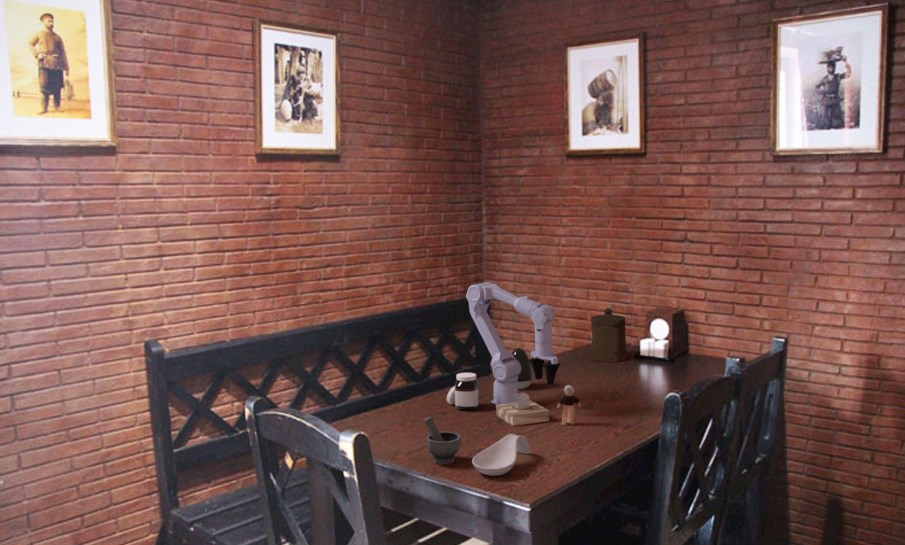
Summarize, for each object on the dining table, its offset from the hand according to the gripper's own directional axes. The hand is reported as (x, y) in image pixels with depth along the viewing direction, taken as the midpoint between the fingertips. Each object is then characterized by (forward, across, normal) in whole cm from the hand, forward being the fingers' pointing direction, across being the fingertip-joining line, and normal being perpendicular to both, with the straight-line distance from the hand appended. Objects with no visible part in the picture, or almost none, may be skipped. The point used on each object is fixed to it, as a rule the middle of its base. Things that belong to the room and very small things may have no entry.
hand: (544, 381), depth 272 cm
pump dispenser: (+10, -32, +8) cm, 35 cm away
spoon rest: (+11, +39, -36) cm, 55 cm away
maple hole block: (+10, +3, -10) cm, 15 cm away
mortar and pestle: (+11, +27, -50) cm, 58 cm away
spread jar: (+10, -19, -22) cm, 31 cm away
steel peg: (+10, +3, -11) cm, 15 cm away
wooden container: (+10, -56, +65) cm, 87 cm away
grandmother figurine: (+11, +16, 0) cm, 19 cm away
